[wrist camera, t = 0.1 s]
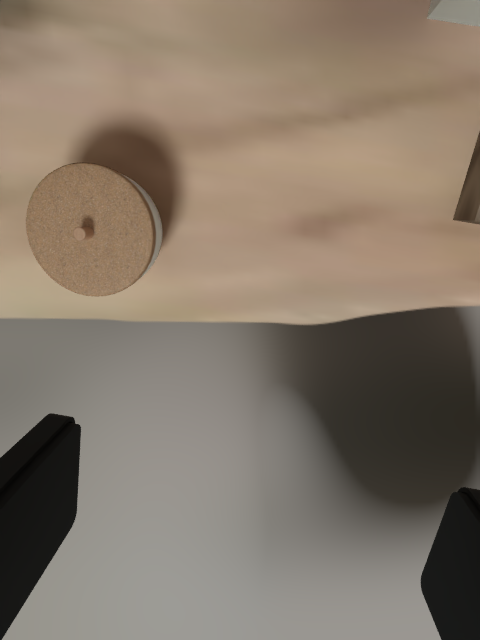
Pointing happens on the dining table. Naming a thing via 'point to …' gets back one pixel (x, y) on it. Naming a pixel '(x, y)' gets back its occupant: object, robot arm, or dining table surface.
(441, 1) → the cream block
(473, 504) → the robot arm
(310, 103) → the dining table surface
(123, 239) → the lidded jar
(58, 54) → the dining table surface
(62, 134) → the dining table surface
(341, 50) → the dining table surface
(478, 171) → the walnut base block
